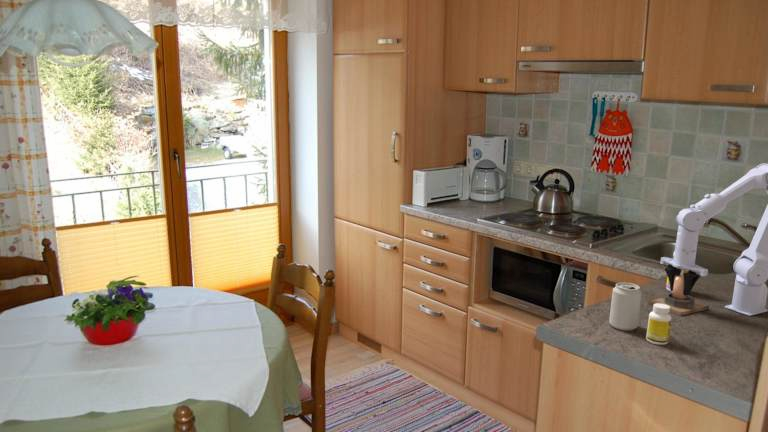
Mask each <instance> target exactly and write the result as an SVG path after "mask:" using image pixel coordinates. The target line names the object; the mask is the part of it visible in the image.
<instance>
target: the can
mask: <svg viewBox="0 0 768 432" xmlns="http://www.w3.org/2000/svg"><path fill="white" fill-rule="evenodd" d="M642 292H643V291H641V287H640V285H637V284H635V283H631V282H622V281H621V282H617V283H615V287H613V288H612V293H611V302H610V309H609V311H610V312H609V319H608V322H609V324H610V325H611V326H612V328H614V329H616V330H620V331H625V332H626V331H633V330H635V329H637V328H638V327H639V320H640V319H639V318H640V311H641V310H640V309H641V301H642V294H643V293H642Z"/></svg>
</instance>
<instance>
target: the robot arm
mask: <svg viewBox="0 0 768 432" xmlns="http://www.w3.org/2000/svg"><path fill="white" fill-rule="evenodd" d="M753 189H754V190H755V189H761V190H762V189H764V190H765V192H766V194H767V195H768V162H763V163H760V164H758V165H756V167H753V168H751V169H749V170H748V172H747V173H746V174H744V175H743V176H742V177H740V178H739V179H738V180H736V181H735V182H733V183H732V184H731V185H729V186H727V187H726V188H725V189H724V190H722V191H720V193H715V192H714V193H710V194H709V193H706V194H705V195H704V196H703V197H704V198H702V199H701V200H699V201H698V202H697V203H695V204H693V203H692V204H691V205H689V208H683V209H681V210H680V211H679V212H678V214H677V215H676V216H675V220H676V223H677V224H678V226H677V232H676V233H677V234H676V240H675V246H674V247H675V249H674V252H675V255H674V256H673V258H671V257H667V256H663V257H662V256H661V257H660V262H659V263H660V264H661V265H666V266H667V267H665V268H664V271H665V273H666V276H668V279H669V283H670V290H671V291H673V285H674V278H675V275H680V273H681V271H682V270H686V271H688V272H687V273H683V275H684V291H683V294H684V295H685V296H687V295H689V296H691V292H692V290H693V288H694V286H695V284H696V283H697V281H698V280H699V279H700V278H701V277H707V276H708V275H709V269H707V268H705V267H703V266H701V265H698V264H696V256H697V248H698V241H699V233H700V230H701V229H702V228H703V227H704V225H705V222H707V221H708V220H710V219H711V218H714V217H715V216H717V215H719V213H721V212H723V211H724V210H726V207H727V204H728V203H729V202H731V201H733V200H735V199H737V198H738V197H740V196H741V195H743V194H745V193H747V192H748V191H750V190H753ZM732 268H733V269H732V270H733V271H734V273H735V274H736V275H735V281H734V285H733V286H734V287H733V293H732V301H731V304H728V305H727V304H726V305H725V306H724V308H725V309H728V310H731V311H733V312H737V313H740V314H742V315H745V316H749V317H753V316H755V315H758V314H763V313H766V312H768V309H767V308H766V304H767V301H768V300H767V299H768V287H767V284H766V282H768V204H767V205H766V206H765V209H764V212H763V214H762V216H761V218H760V221H759V223H758V226H757V228H756V231H755V233H754V235H753V238H752V240H751V242H750V244H749V247H747V248H746V249H744V250H743V251H742V252H741V255H740V256H739V257H738V258H737V259H736V260H735V261H734V263H733V267H732Z"/></svg>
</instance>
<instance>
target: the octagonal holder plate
mask: <svg viewBox="0 0 768 432" xmlns="http://www.w3.org/2000/svg"><path fill="white" fill-rule="evenodd" d="M672 293H673V292H670V291H669V292H665V293H664V296H663V297H660V298H655V299H652V300H651V299H650V300H648V304H649V305H650V304H651V305H650V306H653V305H654V304H656V303H660V304H665V305H668V306H670V312H669V313H672V314H675V315H677V316H680V317H681V316H684V315H689V314H693V313H698V312H702V311H705V310H706V311H707V310H708V309H709V305H707V304H704V303H702V302H699V301H695V298H694V297H693V296H691V295H687V298H686V301H684V300H676V299H673V298H672Z"/></svg>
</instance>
